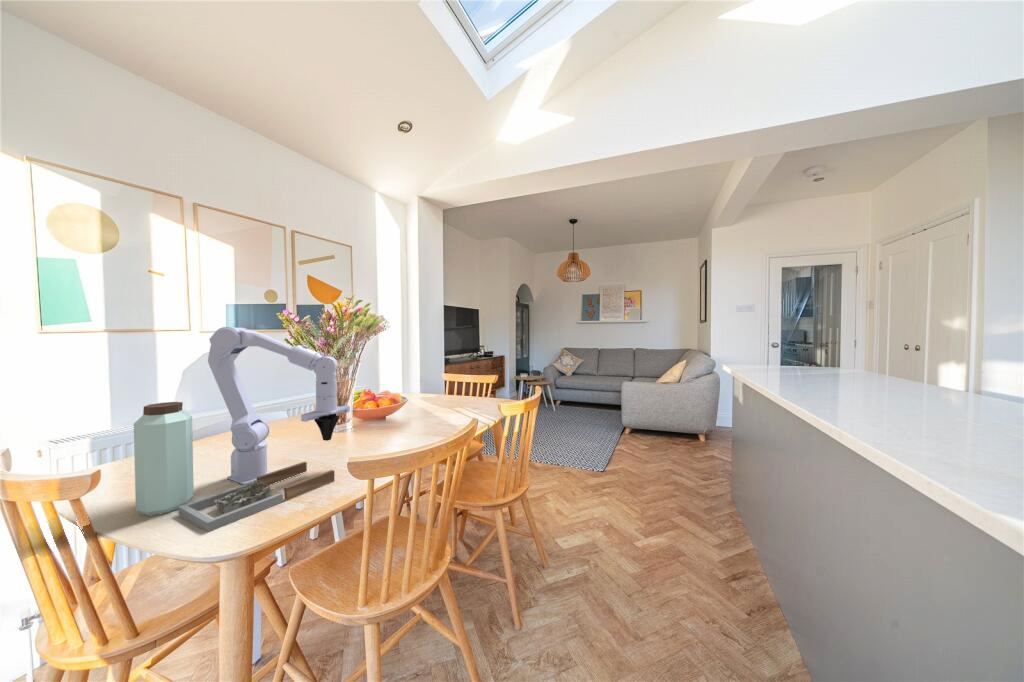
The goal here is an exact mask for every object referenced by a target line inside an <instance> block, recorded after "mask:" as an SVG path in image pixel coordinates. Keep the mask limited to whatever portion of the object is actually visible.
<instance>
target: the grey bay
mask: <svg viewBox="0 0 1024 682" xmlns="http://www.w3.org/2000/svg"><path fill="white" fill-rule="evenodd" d="M251 483H252V482H251ZM248 484H249V483H248ZM248 484H245V485H243V484H241V485H240V486H238V487H234V488H231V489H228V490H224V491H222V492H220V493H215V494H212V495H210V496H207V497H204V498H200V499H197V500H194V501H192V502H191V501H190V502H188V503H187V504H185V505H182V506H179V509H178V516H179V515H180V517H181V518H183V519H184V518H185V520H186V521H188V522H189V523H191V524H193V525H195V526H197V527H198V528H200V529H202V530H203V531H205V532H207V533H210V532H211V531H214V529H215V530H216V529H219V527H220V528H222V527H224V526H226V525H230V524H231V523H234V522H237V521H240V520H241V519H244V518H246V517H249V516H251V515H253V514H257V513H259V512H261V511H264V510H266V509H268V508H270V507H271V508H272V507H274V506H276V505H278V504H281V503H283V502H284V494H283V493H282V492H279V493H277V494H272V496H271V497H268V498H265V499H263V500H260V501H257V502H255V503H252V504H250V505H247V506H244V507H242V508H239V509H236V510H234V511H231V512H229V513H226V514H224V513H223V514H221V515H219V516H216V517H215V516H214V517H213V518H211V517H210V516H208V515H206V514H204V513H202V512H200V511H201V510H204V509H205V508H206V507H207V508H209V506H210V507H212V506H215V505H217V504H216V503H215V501H214V500H218V499H221V498H224V497H225V496H227V495H229V494H232V493H235V492H237V491H238V490H239V489H243V488H245V487H246V486H247V485H248ZM207 508H206V509H207Z"/></svg>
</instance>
